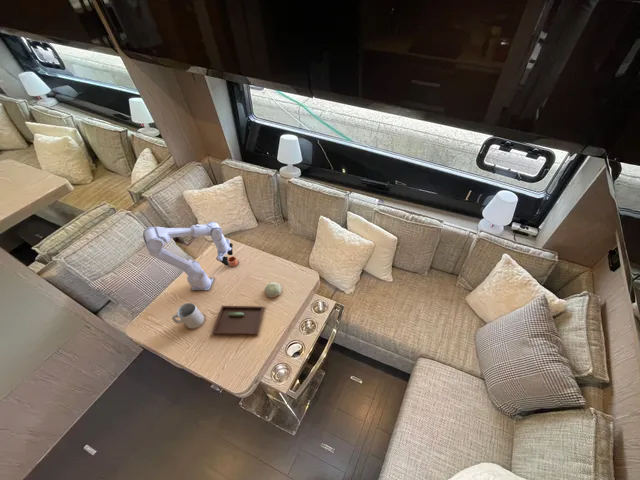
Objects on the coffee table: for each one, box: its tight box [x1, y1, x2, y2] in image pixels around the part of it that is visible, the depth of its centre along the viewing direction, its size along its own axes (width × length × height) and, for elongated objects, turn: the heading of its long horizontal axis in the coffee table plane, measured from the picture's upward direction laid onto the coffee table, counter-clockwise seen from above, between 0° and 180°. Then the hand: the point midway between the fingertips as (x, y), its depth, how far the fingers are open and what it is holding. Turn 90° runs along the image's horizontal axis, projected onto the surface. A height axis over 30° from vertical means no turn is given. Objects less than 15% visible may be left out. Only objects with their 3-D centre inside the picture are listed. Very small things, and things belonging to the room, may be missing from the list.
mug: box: [171, 302, 205, 329], centre depth 137 cm, size 12×8×11 cm
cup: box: [228, 255, 239, 268], centre depth 165 cm, size 5×5×4 cm
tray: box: [211, 305, 265, 336], centre depth 141 cm, size 22×16×2 cm
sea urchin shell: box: [264, 281, 283, 298], centre depth 153 cm, size 9×8×8 cm
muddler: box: [228, 312, 244, 316], centre depth 143 cm, size 2×2×8 cm
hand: (228, 259), depth 155 cm, fingers open, 7 cm apart
